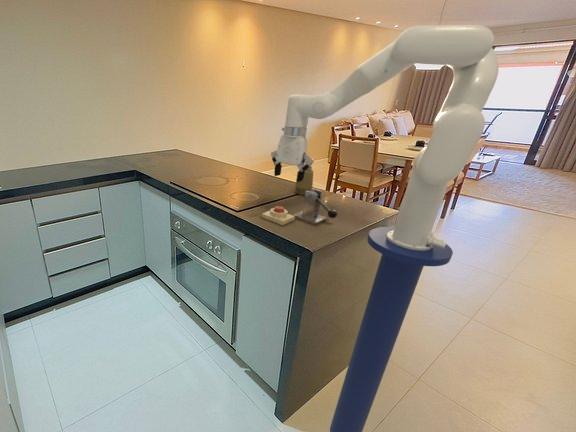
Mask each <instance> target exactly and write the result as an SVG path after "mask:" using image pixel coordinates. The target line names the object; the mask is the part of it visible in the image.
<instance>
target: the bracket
mask: <svg viewBox="0 0 576 432" xmlns="http://www.w3.org/2000/svg"><path fill="white" fill-rule="evenodd" d="M314 190H315V191H316V192H317V193H318V194H319V196H318V198H319V199H320V200H321V201H322V197H323V192H324V191H323V190H321V189H317V188H312V189H311V191H314ZM311 191H306V192H305V195H304V198H303V205H302V210H301V211H297V213H294V214H292V215H293V216H295V219H296V220H299V221H303V222H305V223H308V224H310V225H313V226H318V225H319V224H322V223H324V222H325V221H327V217H328V216H327V217H326V216H324V215H320V214H319V213H320V208H321V205H320V204H319V203H318V202H317V201H316V198H317V193H315V192H311Z"/></svg>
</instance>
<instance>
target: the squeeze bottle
mask: <svg viewBox="0 0 576 432" xmlns="http://www.w3.org/2000/svg"><path fill="white" fill-rule="evenodd" d="M304 164H305V165H306V164H307V161H306V160H305V163H304ZM313 184H314V171H313V165H311V166H310V168H308V169H307V170H306V171H305V173H304V178H303V180H302V181H300V182H297V181H295V185H294V187H295V192H296V194H297V195H300V196H305V192H306V191H311V189H313V186H314V185H313Z"/></svg>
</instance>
